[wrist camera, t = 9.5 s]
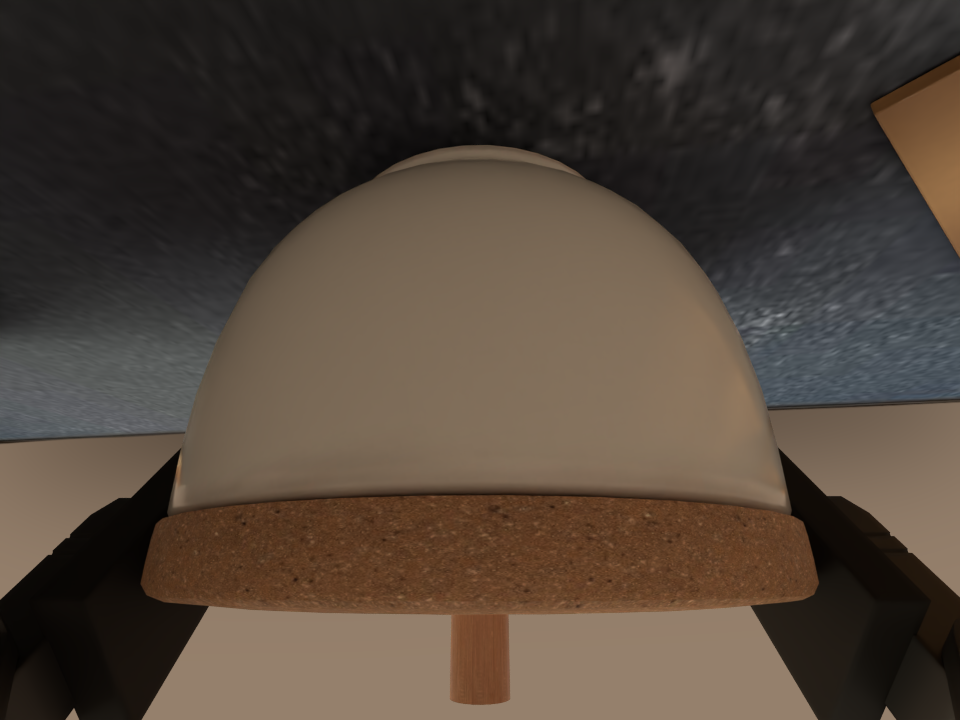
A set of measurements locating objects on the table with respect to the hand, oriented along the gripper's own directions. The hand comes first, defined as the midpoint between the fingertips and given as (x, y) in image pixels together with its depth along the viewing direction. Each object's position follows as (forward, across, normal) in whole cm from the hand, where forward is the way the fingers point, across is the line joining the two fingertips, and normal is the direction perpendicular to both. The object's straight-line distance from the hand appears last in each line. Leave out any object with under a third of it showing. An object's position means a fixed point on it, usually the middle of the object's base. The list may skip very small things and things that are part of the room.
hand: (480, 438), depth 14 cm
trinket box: (+1, 0, -5) cm, 5 cm away
